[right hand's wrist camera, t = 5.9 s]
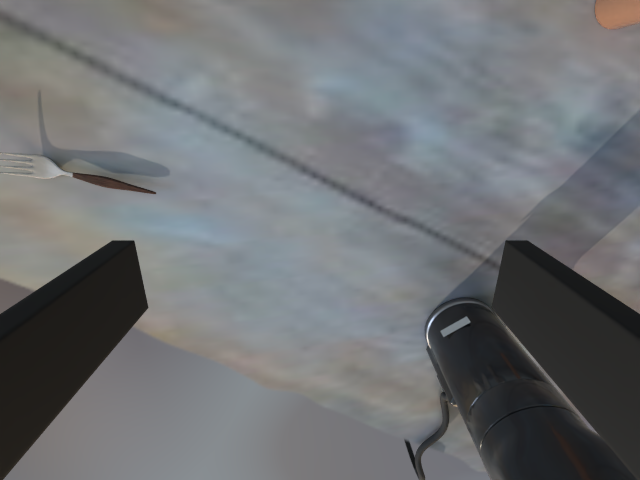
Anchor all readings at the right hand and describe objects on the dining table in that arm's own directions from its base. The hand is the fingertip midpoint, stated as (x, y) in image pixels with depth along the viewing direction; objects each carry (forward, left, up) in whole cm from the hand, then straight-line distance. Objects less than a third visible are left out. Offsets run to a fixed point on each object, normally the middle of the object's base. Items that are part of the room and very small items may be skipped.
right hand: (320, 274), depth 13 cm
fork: (+2, -26, -28) cm, 38 cm away
